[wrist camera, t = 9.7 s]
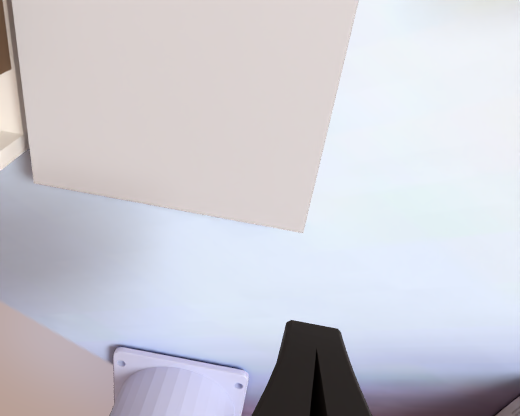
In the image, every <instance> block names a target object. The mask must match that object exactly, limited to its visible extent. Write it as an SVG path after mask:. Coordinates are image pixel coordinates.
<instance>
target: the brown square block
mask: <svg viewBox="0 0 520 416" xmlns="http://www.w3.org/2000/svg"><path fill="white" fill-rule="evenodd" d="M9 70H11V61H10V53H9V46H8V38H7V30H6V23H5V15H4V7H3V0H0V75H1V74H3V73H5V72H7V71H9Z"/></svg>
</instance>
